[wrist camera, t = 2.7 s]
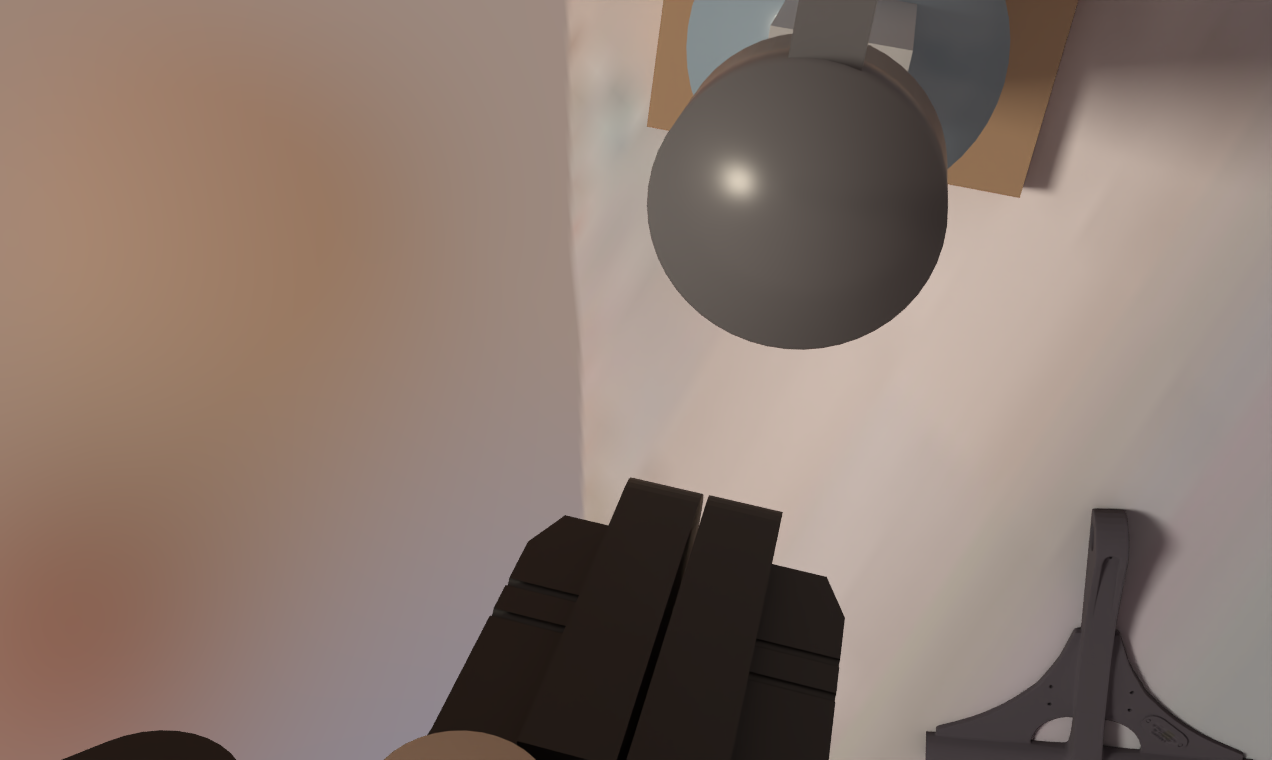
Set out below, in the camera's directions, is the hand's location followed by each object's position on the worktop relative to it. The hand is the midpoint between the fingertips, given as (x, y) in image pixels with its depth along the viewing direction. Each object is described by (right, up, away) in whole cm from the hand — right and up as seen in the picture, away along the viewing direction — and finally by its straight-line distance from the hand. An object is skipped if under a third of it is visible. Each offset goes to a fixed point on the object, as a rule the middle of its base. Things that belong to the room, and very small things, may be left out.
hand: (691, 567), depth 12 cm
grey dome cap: (+4, +9, +14) cm, 17 cm away
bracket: (+20, -10, +43) cm, 48 cm away
